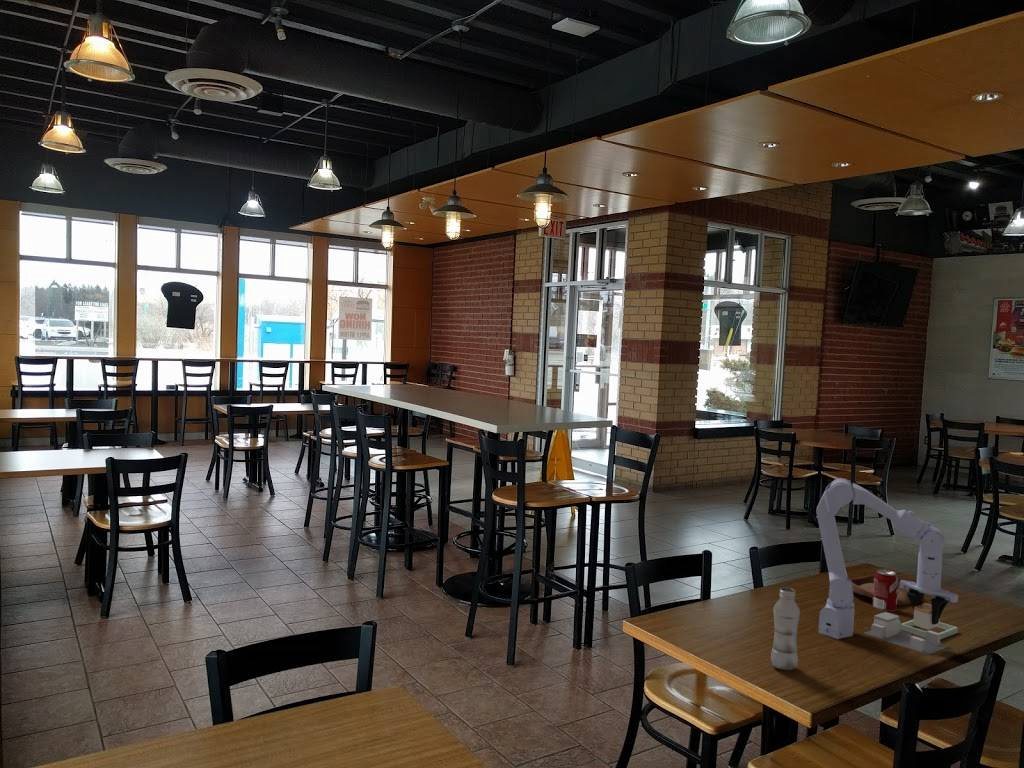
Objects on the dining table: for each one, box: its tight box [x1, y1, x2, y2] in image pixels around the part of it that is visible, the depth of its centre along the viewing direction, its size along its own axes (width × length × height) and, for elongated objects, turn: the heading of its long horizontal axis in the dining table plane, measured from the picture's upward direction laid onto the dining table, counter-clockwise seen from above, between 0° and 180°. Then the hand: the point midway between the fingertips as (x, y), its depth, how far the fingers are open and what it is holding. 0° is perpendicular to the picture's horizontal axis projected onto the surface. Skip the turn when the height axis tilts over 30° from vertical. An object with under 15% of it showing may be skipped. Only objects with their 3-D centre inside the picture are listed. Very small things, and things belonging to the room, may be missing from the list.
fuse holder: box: [863, 620, 949, 656], centre depth 210 cm, size 11×18×4 cm, turn 35°
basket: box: [849, 573, 911, 606], centre depth 251 cm, size 22×20×5 cm
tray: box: [900, 619, 959, 640], centre depth 218 cm, size 12×10×2 cm
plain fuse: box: [873, 611, 900, 637], centre depth 215 cm, size 6×4×5 cm, turn 125°
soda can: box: [872, 569, 899, 613], centre depth 238 cm, size 7×7×12 cm
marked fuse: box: [912, 603, 941, 631], centre depth 206 cm, size 6×4×5 cm, turn 125°
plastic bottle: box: [770, 587, 801, 671], centre depth 190 cm, size 6×7×20 cm
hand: (926, 620), depth 206 cm, fingers closed on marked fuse, 4 cm apart
